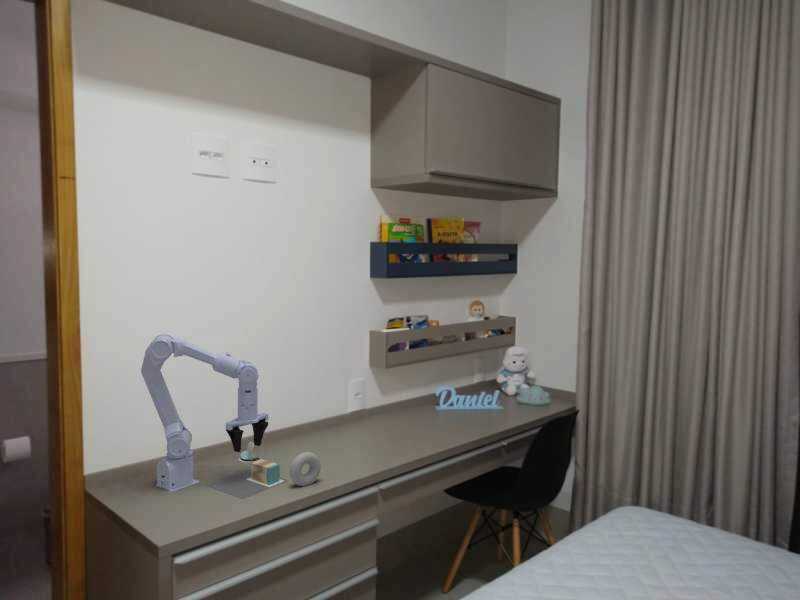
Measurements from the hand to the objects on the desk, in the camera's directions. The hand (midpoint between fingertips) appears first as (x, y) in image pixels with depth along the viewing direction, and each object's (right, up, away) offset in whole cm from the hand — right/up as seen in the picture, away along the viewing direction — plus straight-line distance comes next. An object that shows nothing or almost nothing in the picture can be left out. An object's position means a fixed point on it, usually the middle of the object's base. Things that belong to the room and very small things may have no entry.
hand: (247, 448), depth 177 cm
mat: (+1, -10, -5) cm, 11 cm away
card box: (+6, -9, -2) cm, 11 cm away
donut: (+18, -10, -5) cm, 21 cm away
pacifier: (-4, -9, +16) cm, 19 cm away
